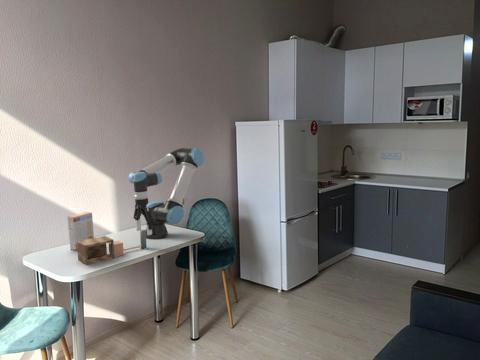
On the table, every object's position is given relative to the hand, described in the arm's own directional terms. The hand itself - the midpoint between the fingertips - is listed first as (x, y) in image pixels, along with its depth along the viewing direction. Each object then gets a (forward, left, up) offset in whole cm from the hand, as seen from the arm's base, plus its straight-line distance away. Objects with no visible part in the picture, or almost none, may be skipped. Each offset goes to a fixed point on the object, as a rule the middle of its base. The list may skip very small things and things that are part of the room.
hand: (144, 232), depth 254 cm
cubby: (+30, 0, -10) cm, 32 cm away
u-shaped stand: (+10, 0, -9) cm, 14 cm away
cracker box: (+27, -29, -10) cm, 41 cm away
